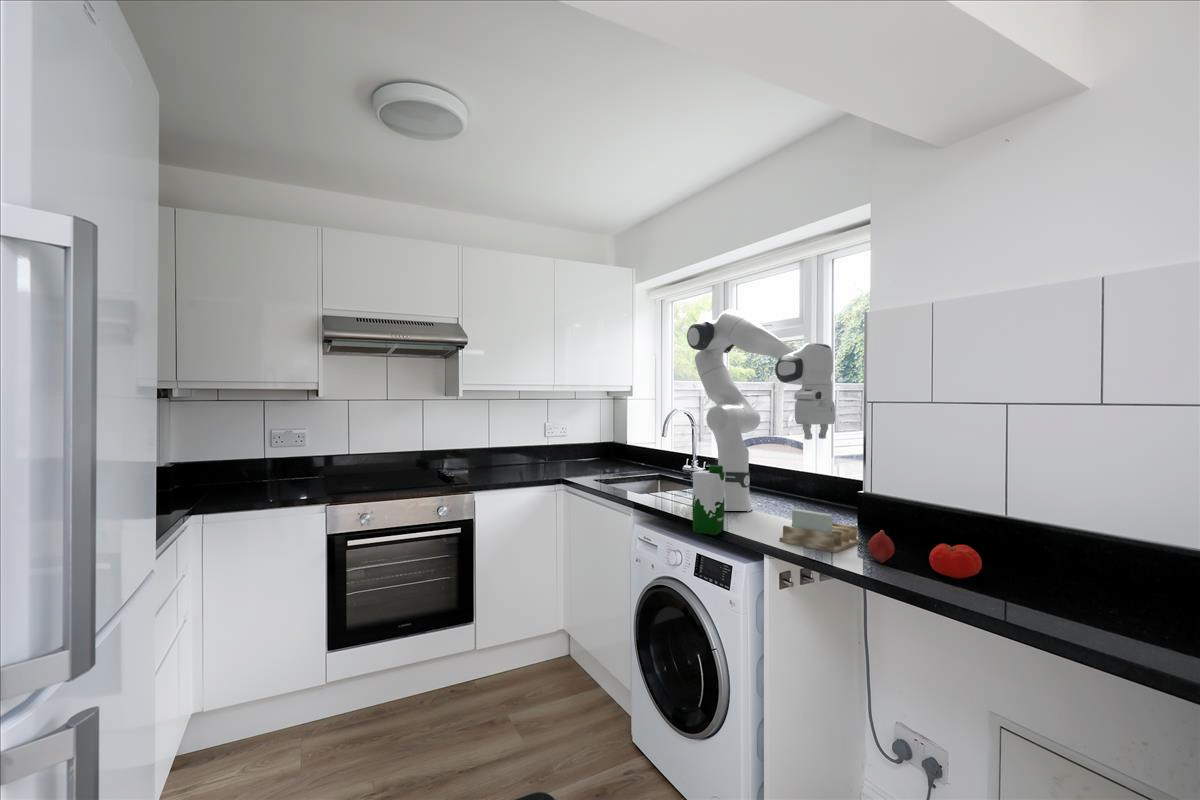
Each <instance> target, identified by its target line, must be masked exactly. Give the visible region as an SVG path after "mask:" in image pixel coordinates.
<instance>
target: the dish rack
mask: <svg viewBox="0 0 1200 800" xmlns="http://www.w3.org/2000/svg"><path fill="white" fill-rule="evenodd" d="M857 531H858V527H857V526H854V525H848V524H843V523H838V522H832V534H828V533H823V532H818V531H812V530H807V529H801V528H796V527H792V526H791V525H790V526H789V525H783V526H782V536H780V537H779V541H778V542H781V541H782V543H786V544H792V545H797V546H800V547H806V548H809V549H810V548H811V549H816V550H820V551H824V552H830V553H834V554H837V553H840V552H842V551H844V550H848V549H849V548H853V547H855V546H857V545H860V544H861V539H860V538H859V539H858V538H857V536H858V534H857V533H858V532H857ZM859 543H860V544H859Z"/></svg>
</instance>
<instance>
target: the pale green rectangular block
mask: <svg viewBox="0 0 1200 800" xmlns="http://www.w3.org/2000/svg"><path fill="white" fill-rule="evenodd" d="M791 511H792V513H791V514H792V516H791V517H792V519H791V527H796V528H801V529H807V530H812V531H818V532H823V533H828V534H832V523H833V514H832V513H827V512H826V513H825V512H819V511H812V510H807V509H806V510H805V509H800V508H796V509H792V510H791Z"/></svg>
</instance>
